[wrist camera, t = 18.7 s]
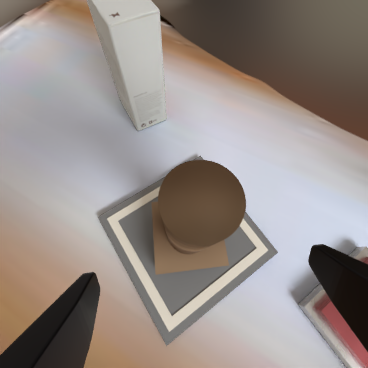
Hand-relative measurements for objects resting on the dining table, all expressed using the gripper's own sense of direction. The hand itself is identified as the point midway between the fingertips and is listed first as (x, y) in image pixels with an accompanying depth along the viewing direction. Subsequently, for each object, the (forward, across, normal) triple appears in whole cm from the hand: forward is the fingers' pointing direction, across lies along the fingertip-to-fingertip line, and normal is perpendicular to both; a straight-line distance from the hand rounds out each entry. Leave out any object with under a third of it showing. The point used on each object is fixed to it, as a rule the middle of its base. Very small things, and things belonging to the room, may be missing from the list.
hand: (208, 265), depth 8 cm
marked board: (+10, 0, +6) cm, 12 cm away
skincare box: (+22, +4, -5) cm, 23 cm away
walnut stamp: (+10, 0, +6) cm, 12 cm away
